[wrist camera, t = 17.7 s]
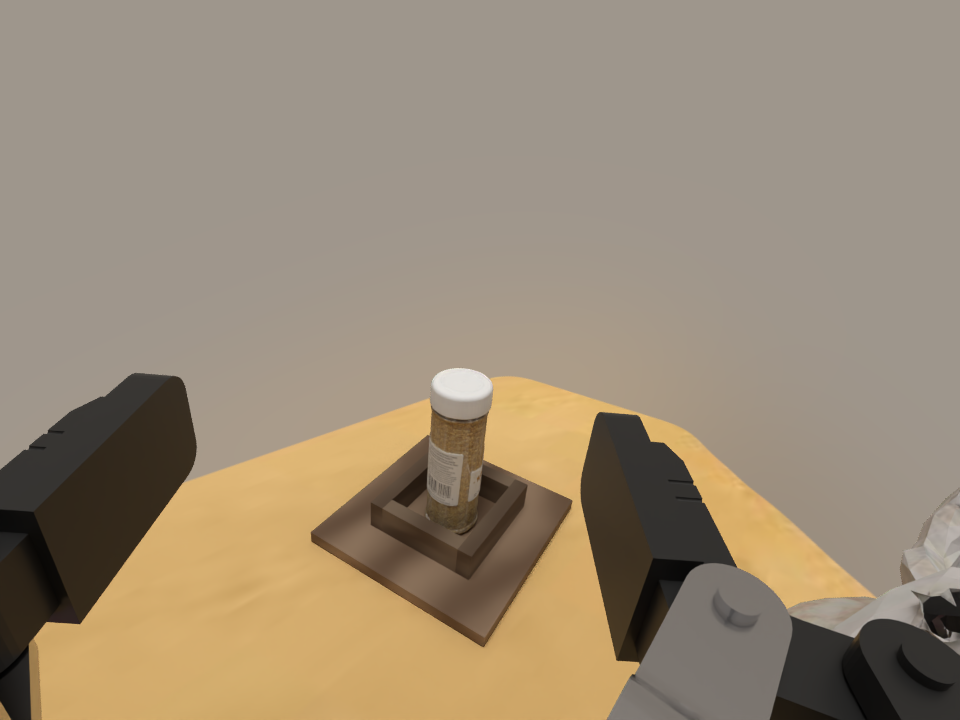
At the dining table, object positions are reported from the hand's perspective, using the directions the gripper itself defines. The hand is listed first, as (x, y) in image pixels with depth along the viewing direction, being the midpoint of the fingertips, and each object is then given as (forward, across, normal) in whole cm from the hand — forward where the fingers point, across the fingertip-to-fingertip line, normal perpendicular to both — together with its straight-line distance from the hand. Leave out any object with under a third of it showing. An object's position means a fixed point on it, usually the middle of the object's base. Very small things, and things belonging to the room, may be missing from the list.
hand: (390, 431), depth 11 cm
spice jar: (+25, -2, +27) cm, 37 cm away
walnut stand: (+25, -2, +28) cm, 38 cm away
